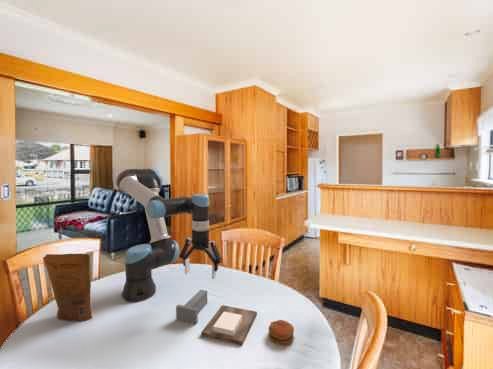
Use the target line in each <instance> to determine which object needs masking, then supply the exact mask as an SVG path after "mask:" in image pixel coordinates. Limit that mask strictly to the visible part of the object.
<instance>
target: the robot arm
mask: <svg viewBox="0 0 493 369" xmlns="http://www.w3.org/2000/svg"><path fill="white" fill-rule="evenodd" d="M115 185H116V187H117V188H118V190H119V191H120V192H121V193H123V194H126V195H129V196H130V197H132V198H133V199H135V201H137V202H139V203H140V204H141V205H142V206H143V207H144V212H145V215H146V220H147V224H148V229H149V232H150V233H149V234H150V241H149V244H148V243H142V244H137V245H133V246H131V247H129V248H128V249H127V250H126V252H125V254H124V255H125V256H124V263H125V264H124V267H125V282H124V286H123V290H122V292H121V294H122V300H124V301H126V302H132V303H133V302H140V301H142V302H143V301H144V300H147V299H149V298H151V297H153V296H154V295H155V294H156V291H157V290H156V288H157V287H156V284H155V282H154V279H153V276H152V274H153V273H152V272H153V270H155V269H158V268H161V267H164V266H169V265H170V264H173V263H175V262H176V261H177V260H178V257H179V258H180V259H182V260H183V267H184V274H185V275H187V274H189V273H190V255H192V253H193V252H194V251H195V250H196V251H202V252H203V251H204V253H206V255H207V256H208V258H209V259H210V260H211V261H212V263H211V266H212V267H211V279H212V280H215V279H216V277H217V272H218V270H219V264H221V263H222V262H223V259H222V257H221V254H220V252H219V249H218V247H217V241H216V240H210V206H211V205H210V204H211V203H210V197H209V194H203V193H194V194H193V195H192V196H185V195H180V196H177V197H173V198H164V197H162V196H161V195H159V193H160V191H161V188H162V186H163V177H162V174H161V173H160V171H159V170H157V169H155V168H127V169H124V170H123V171H121V172H120V173H119V174H118V175H117V177H116V180H115ZM183 214H189V215H191V237H188V238H186V239H185V243H184V245H183V247H182V250H181V252H180V246H179V243H178V242H177V241H176V240H173V237H172V236H171V235H169V233H168V230H167V226H166V225H167V224H166V220H165V217H172V216H178V215H183ZM190 244H192V246H191V247H189V246H190ZM189 248H190V249H189ZM188 249H189V250H188Z"/></svg>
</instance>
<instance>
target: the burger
mask: <svg viewBox="0 0 493 369" xmlns="http://www.w3.org/2000/svg"><path fill="white" fill-rule="evenodd" d="M294 328H295V327H294V325H292V323H290V322H288V321H287V320H283V319H278V320H275V321H271V322H270V323H269V326H268V331H269V332H268V338H269V340H270V342H272V343H275V344H278V345H280V346H289V345H292V343H293V342H294V340H295V336H294V332H295V329H294Z"/></svg>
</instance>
